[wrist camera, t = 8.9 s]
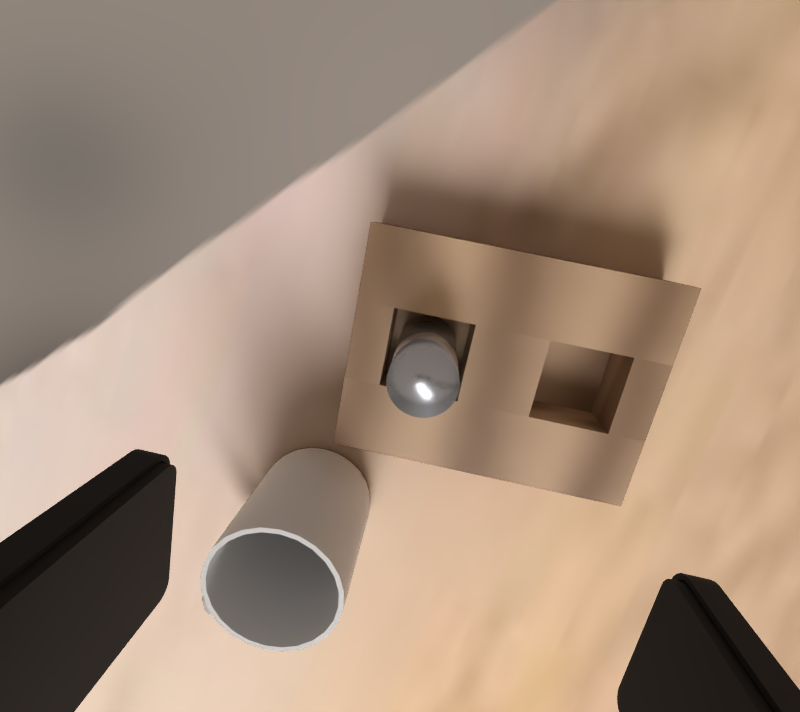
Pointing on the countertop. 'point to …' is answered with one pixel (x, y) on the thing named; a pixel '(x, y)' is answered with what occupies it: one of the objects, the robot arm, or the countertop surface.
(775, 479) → the countertop surface
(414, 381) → the dowel
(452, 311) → the bore block
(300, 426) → the countertop surface
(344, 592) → the cup
